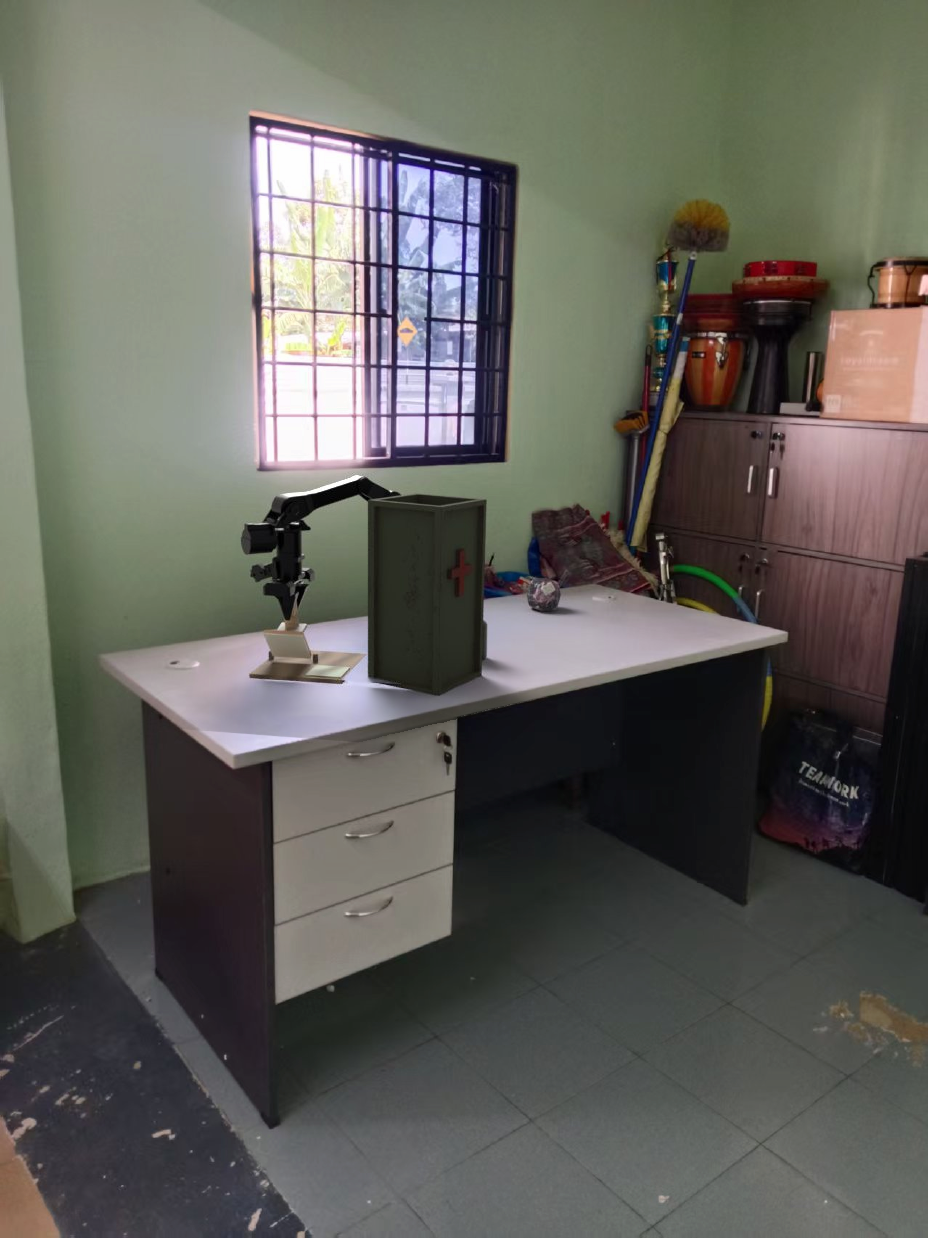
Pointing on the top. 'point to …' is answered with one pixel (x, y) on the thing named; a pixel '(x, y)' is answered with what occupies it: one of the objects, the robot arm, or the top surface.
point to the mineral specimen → (543, 594)
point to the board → (309, 667)
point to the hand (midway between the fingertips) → (290, 618)
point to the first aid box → (426, 590)
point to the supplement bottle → (484, 640)
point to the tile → (287, 644)
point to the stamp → (293, 623)
